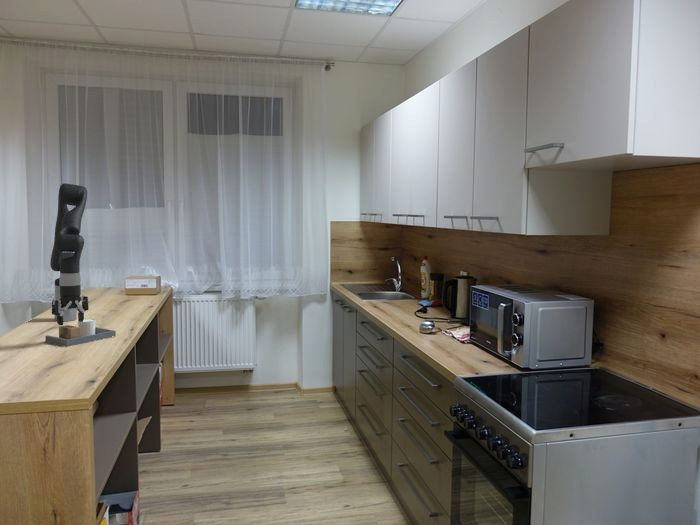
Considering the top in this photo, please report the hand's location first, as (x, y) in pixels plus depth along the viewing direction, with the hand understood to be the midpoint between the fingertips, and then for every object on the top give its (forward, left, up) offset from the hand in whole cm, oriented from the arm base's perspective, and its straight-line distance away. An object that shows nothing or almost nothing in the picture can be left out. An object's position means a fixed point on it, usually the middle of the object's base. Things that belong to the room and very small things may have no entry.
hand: (70, 323), depth 217 cm
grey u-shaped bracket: (-1, +5, -8) cm, 9 cm away
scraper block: (-1, 0, -8) cm, 8 cm away
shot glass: (-3, +9, -8) cm, 12 cm away
